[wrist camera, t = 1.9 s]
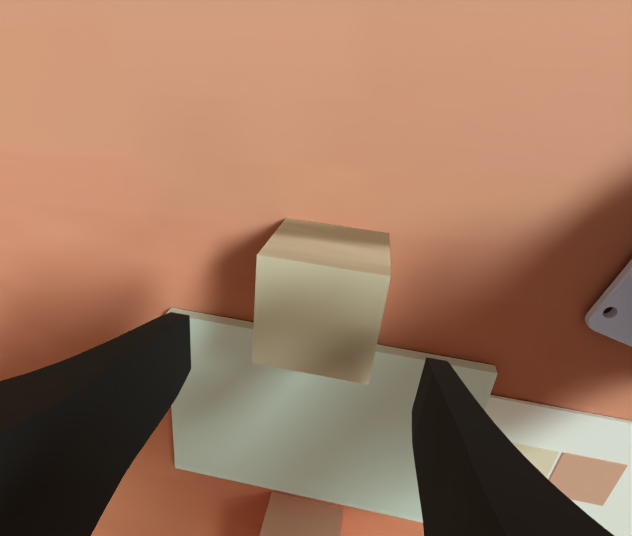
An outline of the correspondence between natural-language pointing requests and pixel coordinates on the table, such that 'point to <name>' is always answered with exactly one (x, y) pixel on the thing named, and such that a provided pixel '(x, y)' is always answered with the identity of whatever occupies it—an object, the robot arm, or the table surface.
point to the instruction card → (575, 455)
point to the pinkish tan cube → (300, 517)
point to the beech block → (321, 299)
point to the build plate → (305, 421)
